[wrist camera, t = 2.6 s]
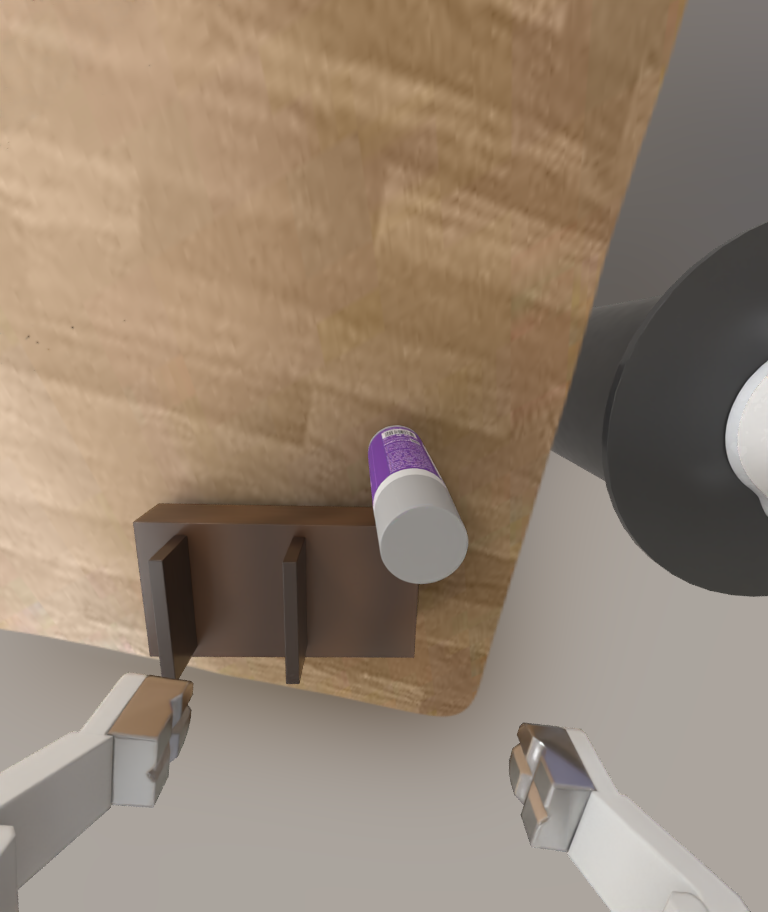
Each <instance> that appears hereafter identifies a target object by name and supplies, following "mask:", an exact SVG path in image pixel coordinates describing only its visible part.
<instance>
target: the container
mask: <svg viewBox="0 0 768 912" xmlns="http://www.w3.org/2000/svg"><path fill="white" fill-rule="evenodd" d="M368 460H369V470H370V481H371V491H372V501H373V510H374V516H375V522H376V528H377V535H378V541H379V547H380V553H381V557H382V560H383V562H384V564H385V566H386V567H387V569H388V570H389V571H390V572H391V573H392V574H393V575H395V576H396V577H398V578H399V579H401V580H404V581H406V582H410V583H415V584H427V583H433V582H436V581H439V580H442V579H444V578H446V577H447V576H449V575H450V574H452V573H453V572H454V571H455V570H456V569H457V568H458V567H459V566H460V564H461V563H462V561H463V560H464V558H465V555H466V553H467V549H468V535H467V531H466V529H465V526H464V524H463V522H462V520H461V518H460V516H459V513H458V511H457V509H456V507H455V505H454V503H453V500H452V498H451V496H450V494H449V492H448V489H447V487H446V485H445V483H444V482H443V480H442V478H441V476H440V474H439V472H438V470H437V469H436V467H435V465H434V463H433V461H432V459H431V457H430V456H429V454H428V452H427V450H426V448H425V446H424V444H423V443H422V441H421V439H420V437H419V436H418V435H417V434H416V433H415V432H414V431H413V430H411V429H410V428H408V427H405V426H400V425H394V426H389V427H386V428H383V429H382V430H380V431H379V432H377V433H376V434H375V435H374V437H373V438H372V440H371V442H370V444H369V448H368Z"/></svg>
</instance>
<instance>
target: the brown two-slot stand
mask: <svg viewBox="0 0 768 912" xmlns="http://www.w3.org/2000/svg"><path fill="white" fill-rule="evenodd" d="M133 526H134V534H135V542H136V550H137V558H138V565H139V573H140V581H141V589H142V597H143V605H144V613H145V621H146V629H147V637H148V645H149V652H150V656H159V658H160V666H161V674H162V677H167V678H174V679H179V677H180V676H181V674H182V672H183V671H184V669H185V667H186V665H187V664H188V662H189V660H190V659H191V657H285V664H286V684H299V683H300V679H301V674H302V669H303V665H304V660H305V657H401V658H414V652H415V635H416V617H417V600H418V584H415V583H410V582H406V581H404V580H401V579H399V578H398V577H396V576H395V575H393V574H392V573H391V572H390V571H389V570H388V569H387V567H386V566H385V564H384V562H383V560H382V557H381V553H380V547H379V541H378V535H377V528H376V522H375V516H374V510H373V507H328V506H271V505H215V504H157V505H156V506H155V507H153V508H152V509H150V510H149V511H148V512H146V513H145V514H144V515H142V516H141V517H140V518H138V519H137V520H135V521H134V522H133Z"/></svg>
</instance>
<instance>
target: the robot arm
mask: <svg viewBox="0 0 768 912" xmlns="http://www.w3.org/2000/svg"><path fill="white" fill-rule="evenodd" d="M725 445H726V452H727V457H728V460H729V463H730V465H731V467H732V469H733V471H734V473H735V474H736V476H737V477H738V478H739V479H740V481H741V482H742V483H744V484H745V485H746V486H747V487H748V488H750V489H751V490H752V491H753V492H754V493H755V494H756V495H757V496H758V497H759V500H760V503H761V505H762V508H763V510H764V512H765V514H766V515H767V516H768V361H767V362H766V363H764V364H763V365H762V366H761V367H760V368H759V369H758V370H757V371H756V372H755V373H754V374H753V375H752V376H751V377H750V378H749V379H748V381H747V382H746V383H745V385H744V386H743V388H742V389H741V391H740V392H739V394H738V396H737V397H736V399H735V401H734V403H733V406H732V408H731V411H730V414H729V417H728V421H727V426H726V434H725ZM192 695H193V683H192V682H191V681H187V680H180V679H174V678H167V677H160V676H153V675H144V674H138V673H131V672H128V673H126V674H125V675H123V676H122V677H121V678H120V679H119V681H118V682H117V683H116V685H115V686H114V687H113V688H112V690H111V691H110V692H109V694H108V695H107V696H106V698H105V699H104V700H103V701H102V703H101V704H100V705H99V707H98V708H97V709H96V711H95V712H94V713H93V714H92V716H91V717H90V719H89V720H88V721H87V722H86V724H85V725H84V726H83V728H82V729H81V730H80V731H79V732H75V731H72V732H70V733H68V734H66V735H65V736H63V737H61V738H60V739H58V740H56V741H54V742H52V743H51V744H49V745H47V746H46V747H44V748H42V749H40V750H39V751H37V752H35V753H33V754H32V755H30V756H28V757H26V758H25V759H23V760H21V761H20V762H18V763H16V764H14V765H13V766H11V767H9V768H7V769H6V770H4V771H2V772H1V773H0V912H19V910H18V909H19V908H18V889H19V888H20V887H22V886H23V885H24V884H25V883H26V882H27V881H28V880H29V879H31V878H32V877H33V876H34V875H35V874H36V873H37V872H38V871H39V870H41V869H42V868H43V867H44V866H45V865H46V864H48V863H49V862H50V861H51V860H52V859H53V858H54V857H55V856H57V855H58V854H59V853H60V852H61V851H62V850H63V849H65V848H66V847H67V846H68V845H69V844H70V843H71V842H72V841H74V840H75V839H76V838H77V837H78V836H79V835H80V834H82V833H83V832H84V831H85V830H86V829H87V828H88V827H89V826H91V825H92V824H93V823H94V822H95V821H96V820H97V819H98V818H100V817H101V816H102V815H103V814H104V813H105V812H106V811H108V810H109V809H110V808H111V805H122V806H136V807H149V808H153V807H154V805H155V803H156V801H157V799H158V797H159V795H160V793H161V791H162V789H163V786H164V784H165V782H166V780H167V778H168V775H169V763H170V762H171V761H173V760H174V759H175V758H177V757H178V755H179V753H180V751H181V748H182V746H183V744H184V741H185V738H186V735H187V732H188V728H189V724H190V719H191V709H190V707H189V706H188V703H189V701H190V699H191V697H192ZM517 736H518V739H519V741H520V743H519V744H518V745H517V746H515V747H514V748H513V749H512V752H511V756H510V760H509V775H510V781H511V785H512V789H513V792H514V795H515V796H516V797H517V798H518V799H519V800H520V802H521V803H522V804H523V805H524V806H523V810H522V813H521V817H522V820H523V823H524V826H525V829H526V833H527V835H528V839H529V842H530V845H531V847H534V848H541V849H548V850H556V851H563V852H568V856H569V857H570V859H571V860H572V861H573V863H574V864H575V865H576V866H577V868H578V869H579V870H580V872H581V873H582V874H583V876H584V877H585V878H586V880H587V881H588V882H589V884H590V885H591V886H592V888H593V889H594V890H595V891H596V893H597V894H598V895H599V897H600V898H601V899H602V901H603V902H604V903H605V905H606V906H607V907H608V908H609V910H610V911H611V912H751V911H750V910H749V909H748V907H747V906H746V904H745V903H744V901H743V900H742V898H741V897H740V896H739V895H738V894H737V893H736V892H735V891H734V890H733V889H732V888H730V887H729V886H728V885H727V884H726V883H725V882H724V881H723V880H721V879H720V878H719V877H718V876H717V875H716V874H715V873H714V872H712V871H711V870H710V869H709V868H708V867H707V866H706V865H704V864H703V863H702V862H701V861H700V860H699V859H698V858H697V857H695V856H694V855H693V854H692V853H691V852H690V851H689V850H688V849H686V848H685V847H684V846H683V845H682V844H681V843H680V842H679V841H677V840H676V839H675V838H674V837H673V836H672V835H671V834H670V833H668V832H667V831H666V830H665V829H664V828H663V827H662V826H661V825H659V824H658V823H657V822H656V821H655V820H654V819H653V818H651V817H650V816H649V815H648V814H647V813H646V812H645V811H644V810H642V809H641V808H640V807H639V806H638V805H637V804H636V803H635V802H633V801H632V800H631V799H630V798H629V797H628V796H627V795H623V794H620V793H619V791H618V790H617V788H616V786H615V784H614V783H613V781H612V779H611V777H610V775H609V774H608V772H607V770H606V768H605V767H604V765H603V763H602V761H601V760H600V758H599V756H598V754H597V752H596V751H595V749H594V747H593V745H592V743H591V742H590V740H589V738H588V736H587V735H586V733H585V732H584V731H583V730H582V729H575V728H567V727H557V726H549V725H540V724H531V723H523V724H521V726H520V727H519V730H518V733H517Z"/></svg>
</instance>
